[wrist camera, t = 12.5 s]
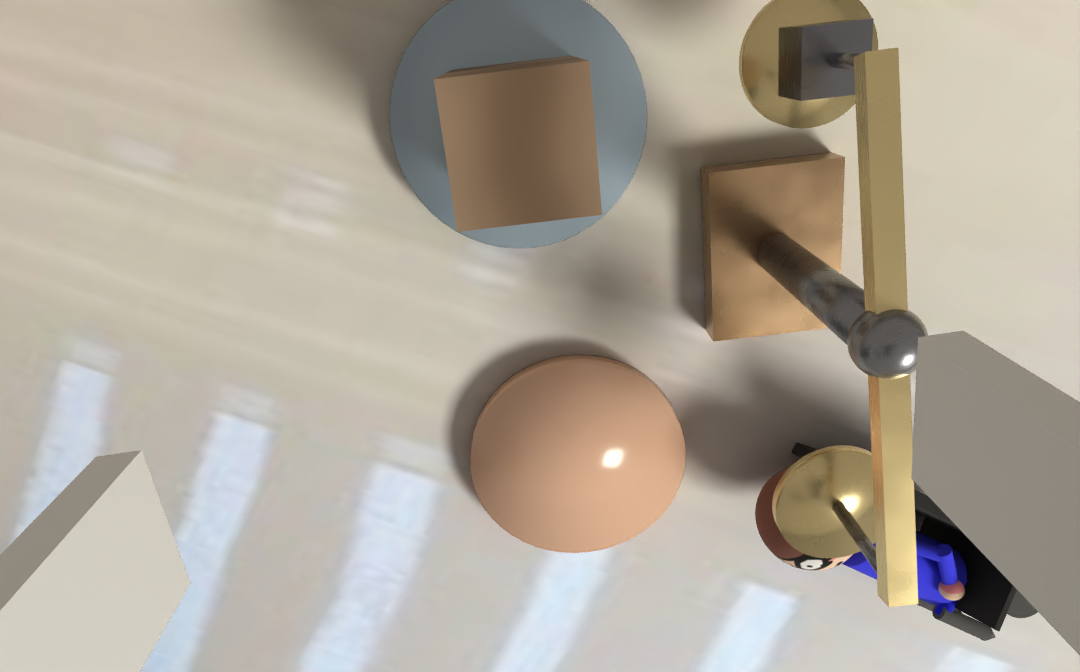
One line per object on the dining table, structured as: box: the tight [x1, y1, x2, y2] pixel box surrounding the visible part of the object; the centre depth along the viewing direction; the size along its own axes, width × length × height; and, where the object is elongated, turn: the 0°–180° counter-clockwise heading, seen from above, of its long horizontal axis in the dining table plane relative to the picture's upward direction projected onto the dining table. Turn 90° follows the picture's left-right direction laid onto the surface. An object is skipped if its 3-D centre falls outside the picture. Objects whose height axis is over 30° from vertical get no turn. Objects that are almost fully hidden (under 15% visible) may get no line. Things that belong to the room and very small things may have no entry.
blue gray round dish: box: [390, 0, 647, 248], centre depth 33 cm, size 11×11×1 cm
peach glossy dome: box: [470, 355, 686, 553], centre depth 39 cm, size 11×11×1 cm
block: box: [434, 56, 602, 232], centre depth 29 cm, size 5×5×8 cm
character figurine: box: [755, 443, 1038, 641], centre depth 38 cm, size 8×7×15 cm
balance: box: [701, 0, 928, 607], centre depth 29 cm, size 6×22×15 cm, turn 6°
